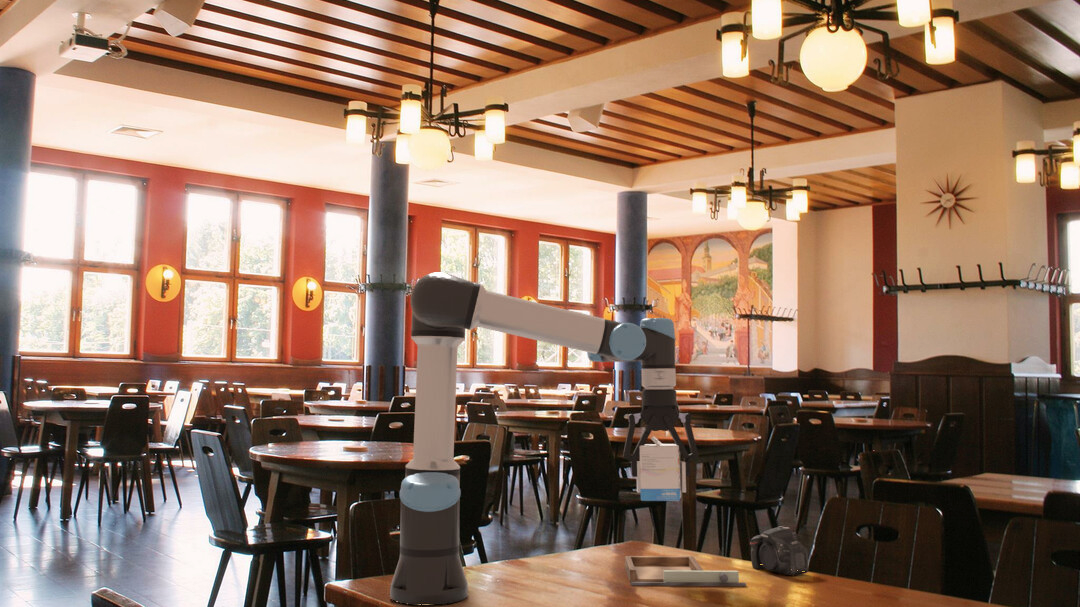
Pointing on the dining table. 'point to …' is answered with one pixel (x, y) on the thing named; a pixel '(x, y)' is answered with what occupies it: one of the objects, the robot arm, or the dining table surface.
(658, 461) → the ink box
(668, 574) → the cream rectangular bar
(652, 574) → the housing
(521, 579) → the dining table surface
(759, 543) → the camera
